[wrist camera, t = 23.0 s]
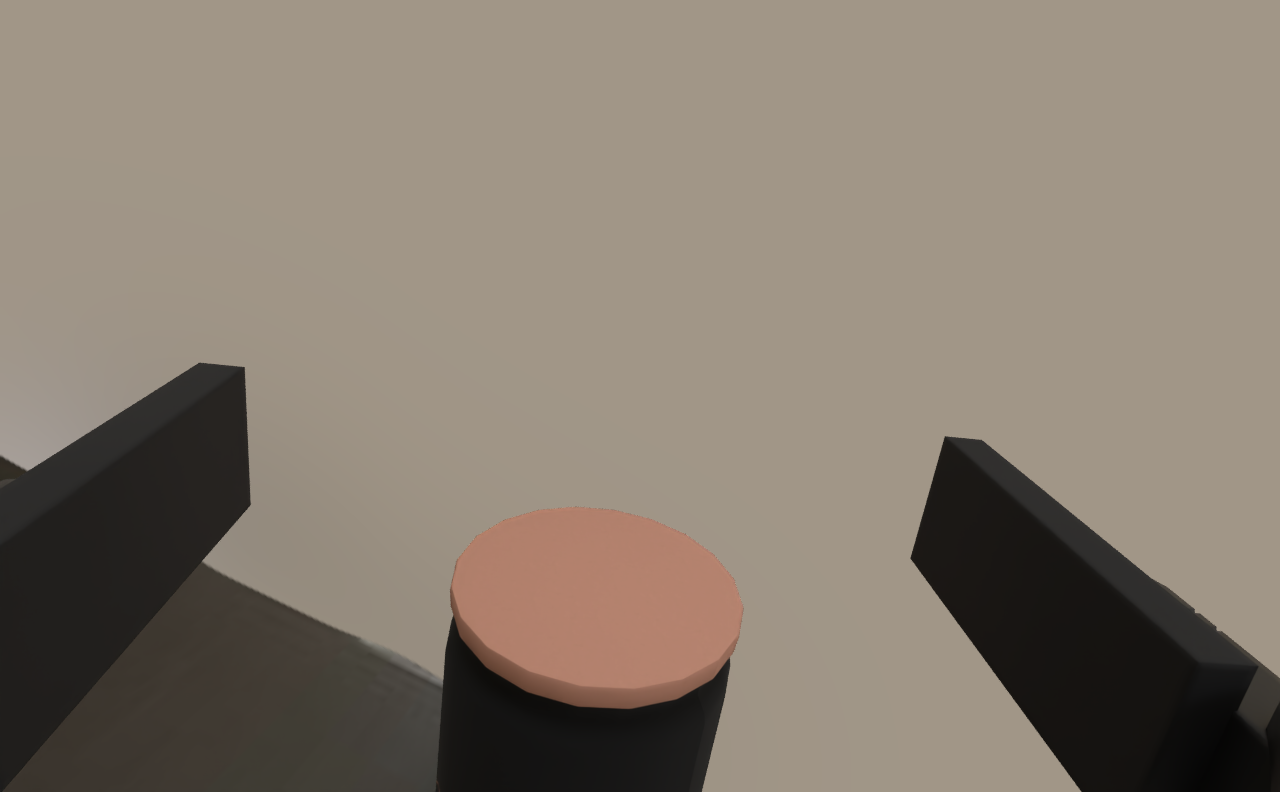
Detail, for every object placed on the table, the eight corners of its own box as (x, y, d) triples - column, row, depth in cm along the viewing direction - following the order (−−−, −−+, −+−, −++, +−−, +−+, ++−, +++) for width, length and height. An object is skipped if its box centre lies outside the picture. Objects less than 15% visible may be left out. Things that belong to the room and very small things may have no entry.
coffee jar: (551, 771, 42) (593, 480, 35) (711, 912, 36) (798, 595, 29) (376, 909, 34) (387, 566, 27) (545, 1120, 28) (612, 748, 21)
